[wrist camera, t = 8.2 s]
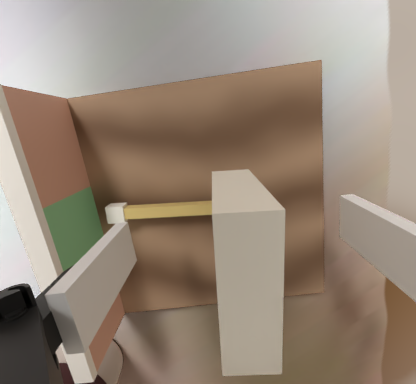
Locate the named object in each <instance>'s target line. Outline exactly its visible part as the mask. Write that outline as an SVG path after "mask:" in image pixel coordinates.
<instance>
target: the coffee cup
mask: <svg viewBox="0 0 416 384" xmlns="http://www.w3.org/2000/svg"><path fill="white" fill-rule="evenodd" d="M56 355H57V357H58V360H59V365H60V369H61V374H62V379H63V383H64V384H75V383H74V380H73V377H72V375H71V372H70V369H69V367H68V364H67V361H66V359H65V356H64V353H63V350H62V348H61V345H60V346H59V348H58V349H57V350H56ZM122 365H123V357H122V352H121V350H120V348H119V347H118V345H117V344H116V343H115V342H114V341H113V340H112V342H111V344H110V346H109V348H108V350H107V352H106V354H105V356H104V359H103V361H102V363H101V365H100V367H99V369H98V371H97V376H96V378H95V380H94V382H90V383H79V384H117V382H118V379H119V376H120V372H121V369H122Z"/></svg>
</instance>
